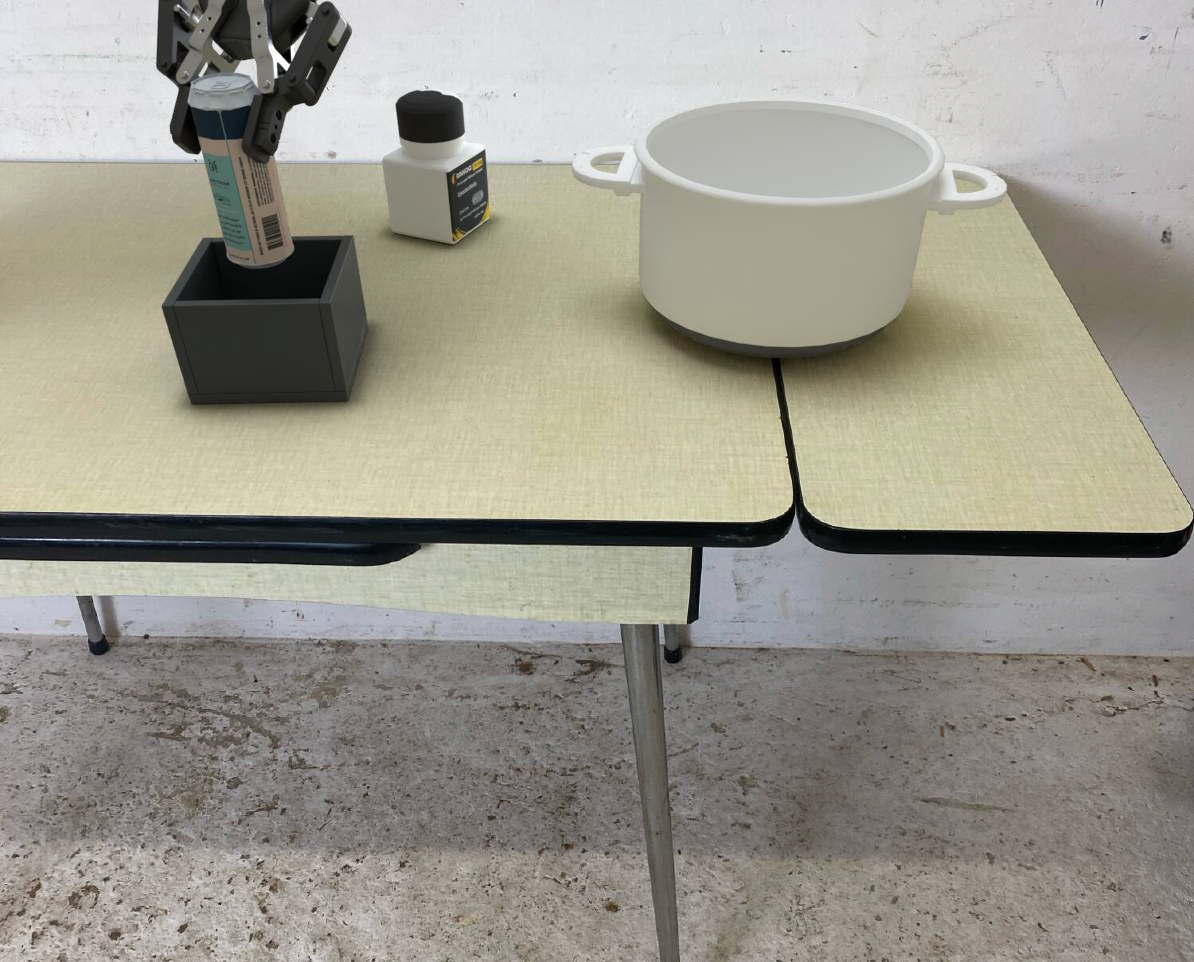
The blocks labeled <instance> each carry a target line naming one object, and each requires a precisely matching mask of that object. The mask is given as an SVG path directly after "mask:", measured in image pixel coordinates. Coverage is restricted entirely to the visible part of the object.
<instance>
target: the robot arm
mask: <svg viewBox="0 0 1194 962" xmlns="http://www.w3.org/2000/svg"><path fill="white" fill-rule="evenodd" d="M157 2H158V3H157V29H156V32H157V33H156V55H155V57H156V58H155V59H156V60H155V67H156V70H157V71H158V72H159V73H161V74H162V75H163V76H165V77H166V78H167V79H168V80H169V81H170V82H172V83H173V84H174V85H175V87H176V88H178V89H177V90H178V91H177V95H176V99H175V103H174V107H173V112H172V115H171V119H170V122H169V135H171V140H172V142H173V143H174V144H175V145H176V146H177V147H178V148H179V149H181V150H182V151H183V152H185V153H186V154H188V155H197V156H198V155H200V154H201V153H202V151H201V147H200V143H199V139H198V135H197V131H196V127H195V123H194V119H193V115H192V111H191V107H190V105H189V104H188V97H189V92H190V88H191V82H192V81H194V80H196V79H198V78H199V77H200V74H201V72H202V71H203V69H204V67H205V66H206V64H207V67H206V69H205V71H204V72H203V74H202V76H207V75H212V74H216V73H236V71H237V69H238V67H239V65H240V63H241V61H242V62H243V61H249V60H254V61H255V64H256V78H257V79H256V80H257V81H256V83H257V88H258V89H259V91H260V92H261V95H254V96H253V100H252V104H251V108H250V112H249V116H248V120H247V124H246V128H245V131H244V135H243V139H242V144H241V146H242V150H243V152H244V153H245V154H246V155H247V156H248V157H250V158H251V159H252V160H253V161H254V162H256V163H262V164H267V163H268V162H269V159H270V156H273V155H274V156H275V154H276V152H277V151H278V149H279V146H280V145H279V144H280V141H281V137H282V134H283V133H282V132H283V129H284V125H285V121H286V117H287V114H288V113H289V112H291V110H292V109H293V107H295V106H299V105H302V104H304V105H305V106H307V107H313V106H315V105H317V103H318V102H319V101H320V98H321V97H322V94H323V93H324V91H325V89H326V87H327V85H328V83H329V80H330V79H331V77H332V74H333V73H334V70H335V68H336V66H337V65H338V63H339V61H340V59H341V57H342V55H343V52H344V50H345V48H346V47H347V45H348V42H349V40H350V38H351V36H352V35H353V28H352V26H351V25H350V24H349V22H348V21H347V20H346V18H345V17H344V16H343V15H342V14H341V13H340V11H339V10H338V8H337V7H336V6H335V5H334V3H333V2H332V1H330V0H326V1H323V2H321V3H320V4H318V0H158V1H157ZM302 36H303V37H302ZM301 37H302V39H301V41H300V44H299V45H298V47H297V49H296V52H295V44H296V42H297V41H299V39H300V38H301ZM213 42H214V44H216V45H217V46H218V47H219V48H220V50H222V51H221V54H219V53H218V52H217V50H215V49H214V47H213Z"/></svg>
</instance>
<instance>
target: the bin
mask: <svg viewBox="0 0 1194 962" xmlns="http://www.w3.org/2000/svg"><path fill="white" fill-rule="evenodd" d="M291 238H292V243H293V245H294V251H293V252H292V254H291V255H290V256H288V257H287V258H286V259H285V260H284V261H283V262H281V263H280V264H277V265H275V266H271V267H267V268H257V269H253V268H247V267H243V266H241V265H239V264H236V263H233V262H231V261H230V260H229V259H228V258H227V249H226V246H225V242H224V238H223V236H222V237H202V238H201V240H200V241H199V244H197V247H196V248H195V250H194V251H193V253H192V255H191V257H190V258H189V260H188V261H187V263H186V264H185V266H184V267H183V270H182V271H181V273H180V274H179V276H178V277H177V279H176V281H175V283H174V284H173V285H172V287H171V290H170V291H169V293H168V294H167V295H166V297H165V300H164V301H163V303H162V304H161V311H162V313H163V317H164V320H165V324H166V325H167V330H168V334H169V337H170V339H171V343H172V347H173V350H174V353H175V357H176V360H177V363H178V366H179V371H180V373H181V376H182V379H183V383H184V386H185V389H186V393H187V395H188V396H187V397H188V399H189V402H190V404H191V405H193V404H194V405H200V404H201V405H202V404H251V403H253V404H256V403H299V402H300V403H303V402H347V401H349V399H350V395H351V391H352V387H353V384H354V379H355V376H356V373H357V369H358V365H359V361H360V359H361V354H362V351H363V347H364V345H365V344H364V343H365V341H366V337H367V333H368V330H369V323H368V316H367V311H366V304H365V298H364V297H365V296H364V292H363V285H362V280H361V274H360V267H359V262H358V253H357V248H356V242H355V237H354V235H353V234H351V235H349V234H347V235H345V234H344V235H291Z"/></svg>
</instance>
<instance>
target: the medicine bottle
mask: <svg viewBox="0 0 1194 962" xmlns="http://www.w3.org/2000/svg"><path fill="white" fill-rule="evenodd" d="M463 102H464V101H463V99H462V98H461V97H460V96H459V95H458V94H456V93H453V92H451V91H449V90H445V89H441V88H421V89H416V90H412V91H410V92H407V93H405V94H403V95H402V96H400V97H399V98H398V99H397V101H396V102H395V105H394V106H395V113H396V121H397V122H396V123H397V129H398V137H399V144H400V147H399V148H396V149H395V150H393V151H392V152H390V153H388V154H386V155H385V156H383V157H382V159H381V163H382V170H383V171H382V172H383V176H384V177H383V178H384V184H385V192H386V200H387V206H388V215H389V221H390V228H391V231H392V233H394V234H399V235H404V236H407V237H414V238H419V239H423V240H427V241H428V240H429V241H434V242H439V243H444V244H448V245H456V244H457V243H458V242H460V241H461V240H462V239H464V238H465V237H467V236H468V235H469V234H470V233H472V232H473V231H475V230H476V229H478V228H479V227H480V226H481V225H483V224H484V223H485V222H487V221H488V220H489V219H490V218H491V211H490V209H491V208H490V197H489V182H488V167H487V154H486V153H487V152H486V146H485V145H484V144H482V143H475V142H469V141H466V140H467V139H466V127H465V115H464V103H463Z"/></svg>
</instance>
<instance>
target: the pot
mask: <svg viewBox="0 0 1194 962" xmlns="http://www.w3.org/2000/svg"><path fill="white" fill-rule="evenodd" d="M619 161H620V163H619V166H618V168H617V171H616V172H615V173H614V172H613V173H612V172H605V171H601V170H598V169H596V168H594V167H596V166H598V165H600V164H603V163H609V162H619ZM571 172H572V174H573V178H574V179H575V180H577V181H578V182H580V183H581V184H584V185H586V186H589V187H593V188H597V189H602V190H603V189H604V190H612V191H613V192H614V194H615V195H616V196H617V197H630V195H631V194H640V197H639V204H640V205H639V206H640V207H639V233H638V234H639V235H638V236H639V238H638V244H639V245H638V278H639V279H638V280H639V283H640V284H639V285H640V288H641V291H642V294H643V297H644V298H645V299H646V301H647V302H648V304H649V305H650V308H651V309H652V310H653V311H654V312H655V314H656V315H657V316H658V318H660V319H661V320H662V321H663V322H665V323H666V324H667V325H669V326H670V327H671V328H673V329H674V330H675V331H676V332H678V333H679V334H681V335H682V336H684V337H686V338H688V339H690V340H693V341H694V342H696V343H698V344H701V345H703V346H707V347H710V348H713V349H715V350H718V351H722V352H727V353H731V354H736V355H740V356H747V357H757V358H765V359H800V358H813V357H818V356H825V355H829V354H830V355H831V354H834V353H837V352H841V351H844V350H847V349H851V348H853V347H855V346H857V345H859V344H861V343H864V342H865V341H867V340H869V339H870V338H873V337H875V336H876V335H878V334H879V333H881V332H882V331H883V330H884V329H886V328H887V327H888V326H889V325H890V324H891V323H892V322H893V321H894V320H895V318H897V317H898V316H899V315H900V313H901V312H902V310H903V308H904V307H905V305H906V304H907V300H908V298H909V296H910V294H911V290H912V285H913V280H914V275H915V270H916V266H917V261H918V257H919V256H918V255H919V252H920V246H921V241H922V237H923V231H924V227H925V221H926V218H927V213H928V212H927V211H932V212H933V211H935V212H937V215H939V216H953V215H954V214H955V213H956V212H957V211H972V210H973V211H974V210H982V209H988V208H992V207H995V206H997V205H998V204H1000V203H1002V202H1003V200H1004V199H1005V197H1006V195H1007V191H1008V184H1007V183H1006V181H1005V180H1004V179H1003V178H1002V177H1000V176H999V175H998V173H995V172H993V171H991V170H989V169H987V168H983V167H979V166H976V165H970V164H964V163H956V162H955V163H954V162H946V154H945V152H944V150H943V147H942V145H941V144H940V142H939V141H938V140H937V139H936V138H935V137H934V136H933V135H932V134H930V133H929V132H928V131H926V130H924V129H923V128H921V127H919V126H917V125H916V124H915V123H913V122H910V121H908V120H906V119H903V118H901V117H898V116H897V115H894V114H892V113H889V112H885V111H881V110H878V109H874V108H871V107H866V106H863V105H858V104H852V103H848V102H843V101H842V102H841V101H835V100H828V99H821V98H810V97H809V98H808V97H795V96H751V97H735V98H726V99H718V100H712V101H707V102H706V101H705V102H701V103H696V104H692V105H689V106H686V107H685V106H684V107H681V108H679V109H674V110H672V111H670V112H667V113H665V114H663V115H661V116H659V117H655V119H653V120H651V121H650V122H649V123H647V124H646V125H645V126H643V128H642V129H641V130H640V132H639V133H638V134H637V135H636V137H635V139H634V143H633V145H611V146H609V145H608V146H602V147H601V146H600V147H596V148H591V149H588V150H585V151H583V152H582V153H581V154H580V155H577V156H576V157H575V158H574V159H573V161H572V165H571ZM955 180H960V181H964V182H969V183H972V184H975V185H977V186H979V187H981V188H982V189H981V190H978V191H974V192H958V189H957V185H956V181H955Z"/></svg>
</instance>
